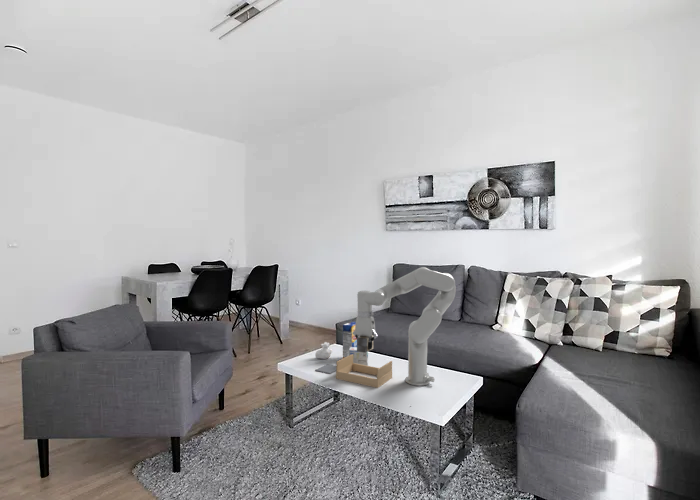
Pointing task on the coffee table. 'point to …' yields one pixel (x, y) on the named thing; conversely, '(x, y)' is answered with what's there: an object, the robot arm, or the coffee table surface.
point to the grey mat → (327, 369)
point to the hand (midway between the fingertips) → (365, 348)
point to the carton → (347, 366)
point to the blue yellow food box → (348, 338)
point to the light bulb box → (359, 356)
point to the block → (363, 344)
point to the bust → (324, 351)
